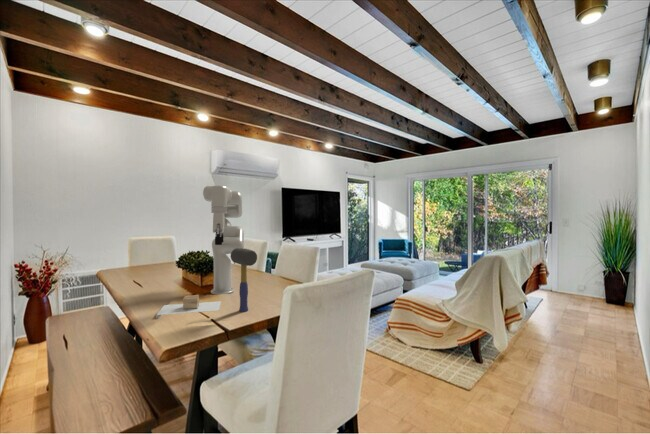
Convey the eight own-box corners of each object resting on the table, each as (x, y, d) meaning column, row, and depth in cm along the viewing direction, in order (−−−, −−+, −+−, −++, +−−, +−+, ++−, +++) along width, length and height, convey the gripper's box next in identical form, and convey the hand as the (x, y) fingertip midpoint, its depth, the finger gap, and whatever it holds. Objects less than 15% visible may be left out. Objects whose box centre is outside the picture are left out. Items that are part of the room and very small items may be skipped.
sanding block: (185, 306, 143) (185, 295, 143) (198, 305, 145) (198, 295, 145) (183, 309, 139) (183, 299, 139) (197, 308, 140) (197, 298, 140)
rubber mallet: (258, 314, 137) (258, 249, 136) (244, 319, 131) (244, 250, 131) (243, 308, 145) (243, 246, 144) (229, 312, 140) (229, 248, 139)
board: (164, 308, 145) (164, 305, 145) (221, 304, 152) (221, 301, 152) (156, 318, 132) (156, 315, 132) (218, 313, 138) (218, 310, 138)
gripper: (213, 209, 161) (213, 242, 161) (209, 210, 144) (209, 245, 144) (228, 210, 163) (228, 241, 163) (225, 210, 146) (226, 245, 146)
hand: (219, 243), depth 154 cm, fingers open, 9 cm apart
